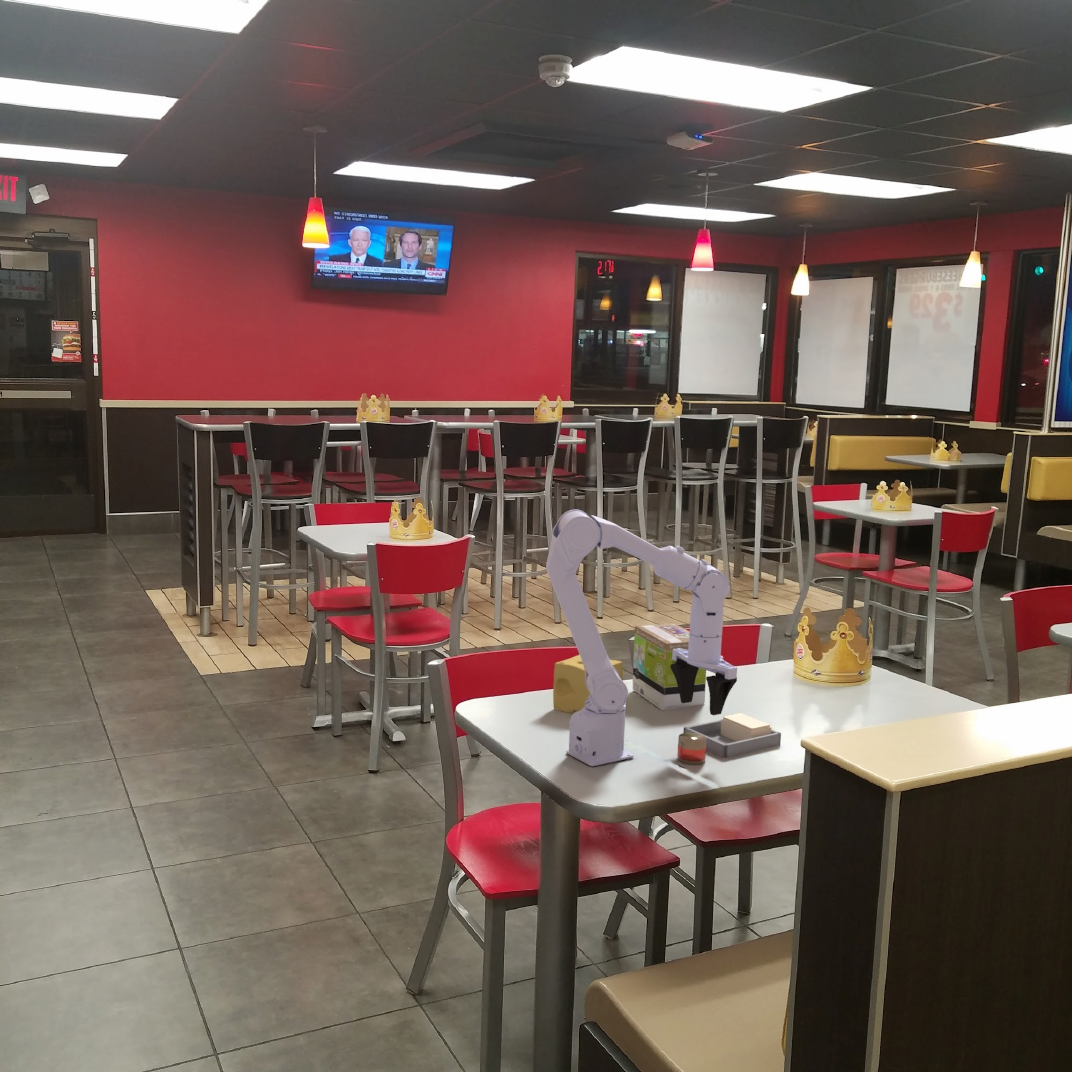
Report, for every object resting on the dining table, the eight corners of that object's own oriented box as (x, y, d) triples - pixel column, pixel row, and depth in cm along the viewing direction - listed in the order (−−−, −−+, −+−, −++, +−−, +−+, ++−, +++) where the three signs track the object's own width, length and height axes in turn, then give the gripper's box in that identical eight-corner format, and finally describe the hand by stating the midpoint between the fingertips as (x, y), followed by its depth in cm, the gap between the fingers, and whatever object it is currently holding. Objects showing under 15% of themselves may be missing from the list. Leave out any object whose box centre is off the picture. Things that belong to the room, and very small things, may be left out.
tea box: (630, 691, 226) (633, 624, 224) (671, 687, 229) (675, 621, 227) (662, 712, 212) (666, 641, 210) (706, 708, 215) (710, 638, 213)
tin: (689, 771, 180) (691, 743, 179) (671, 762, 184) (672, 735, 184) (710, 766, 183) (712, 739, 182) (692, 757, 187) (693, 730, 186)
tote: (724, 761, 185) (725, 745, 185) (682, 742, 194) (683, 727, 194) (780, 748, 193) (781, 733, 192) (737, 731, 202) (738, 716, 201)
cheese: (593, 721, 205) (595, 671, 204) (549, 709, 212) (551, 661, 210) (622, 708, 214) (624, 661, 212) (578, 697, 220) (580, 651, 218)
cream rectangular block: (750, 747, 191) (752, 729, 190) (720, 734, 197) (721, 716, 197) (770, 743, 193) (771, 724, 193) (739, 730, 200) (740, 712, 200)
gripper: (751, 640, 181) (746, 716, 183) (694, 623, 193) (689, 694, 195) (722, 645, 177) (717, 722, 179) (665, 626, 189) (661, 699, 191)
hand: (700, 708), depth 187 cm, fingers open, 7 cm apart
